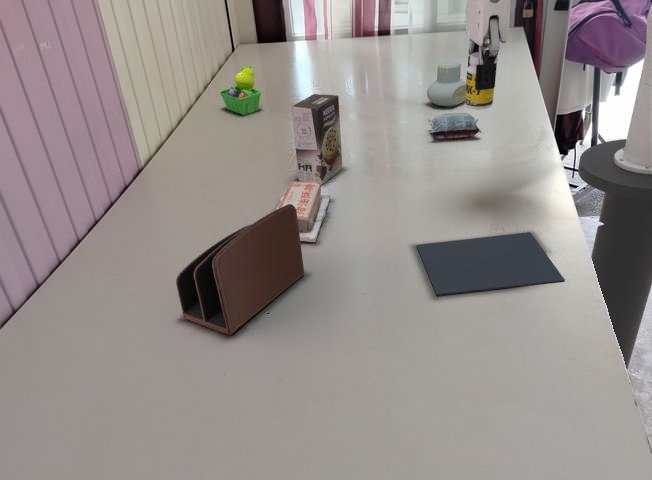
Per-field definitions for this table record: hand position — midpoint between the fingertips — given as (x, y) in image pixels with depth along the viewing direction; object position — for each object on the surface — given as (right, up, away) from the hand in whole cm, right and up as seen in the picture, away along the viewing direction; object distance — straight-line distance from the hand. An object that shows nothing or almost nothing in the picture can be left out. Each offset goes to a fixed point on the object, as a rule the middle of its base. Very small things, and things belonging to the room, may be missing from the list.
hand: (480, 83), depth 109 cm
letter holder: (-40, -37, -5) cm, 55 cm away
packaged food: (+6, +5, +43) cm, 43 cm away
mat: (0, -31, -4) cm, 32 cm away
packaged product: (-31, -21, +15) cm, 40 cm away
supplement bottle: (0, -3, +2) cm, 4 cm away
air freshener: (+8, +20, +61) cm, 65 cm away
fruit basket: (-47, +23, +73) cm, 90 cm away
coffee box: (-26, -7, +31) cm, 42 cm away
